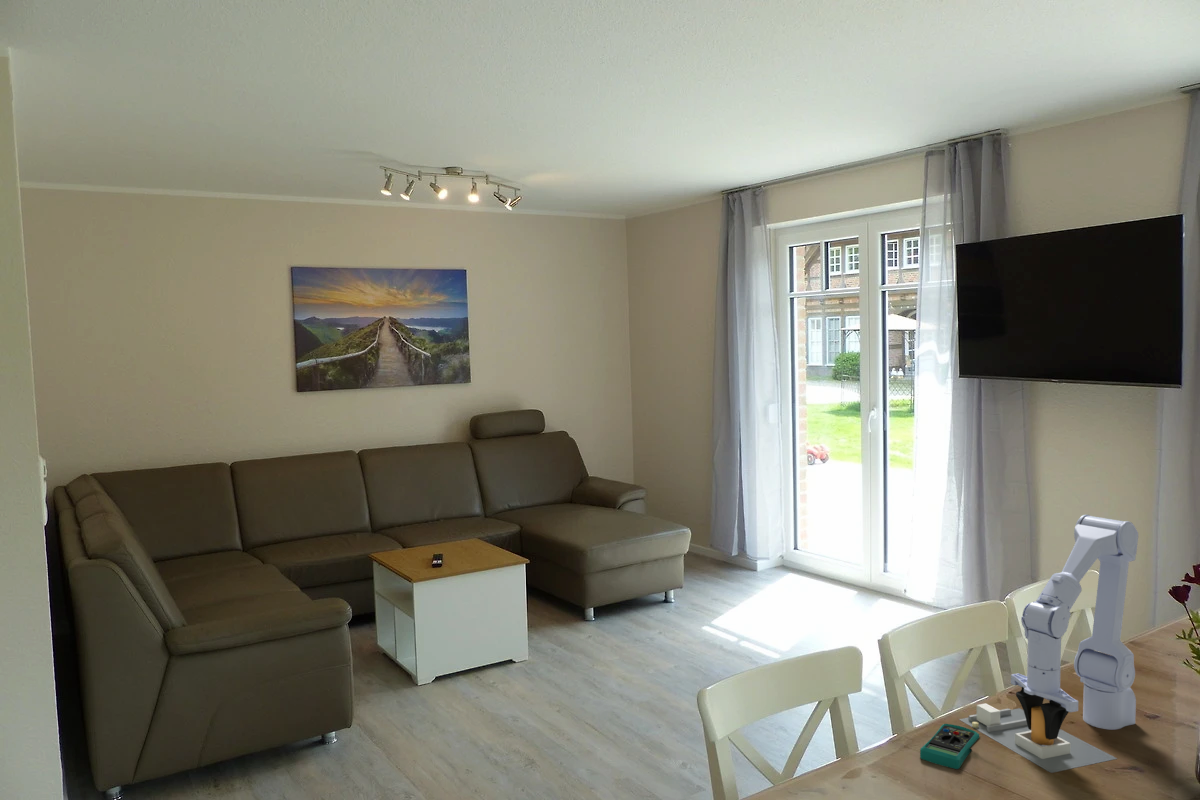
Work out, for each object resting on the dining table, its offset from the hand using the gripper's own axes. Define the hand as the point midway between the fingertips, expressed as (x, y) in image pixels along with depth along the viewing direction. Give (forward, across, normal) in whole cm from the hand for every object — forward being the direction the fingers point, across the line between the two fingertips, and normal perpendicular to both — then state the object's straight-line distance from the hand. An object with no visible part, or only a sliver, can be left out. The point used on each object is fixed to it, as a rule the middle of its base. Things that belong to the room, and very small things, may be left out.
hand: (1042, 733), depth 167 cm
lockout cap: (+1, 0, 0) cm, 1 cm away
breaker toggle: (+3, -12, -2) cm, 12 cm away
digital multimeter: (+5, -7, -16) cm, 18 cm away
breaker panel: (+4, -4, +2) cm, 6 cm away
